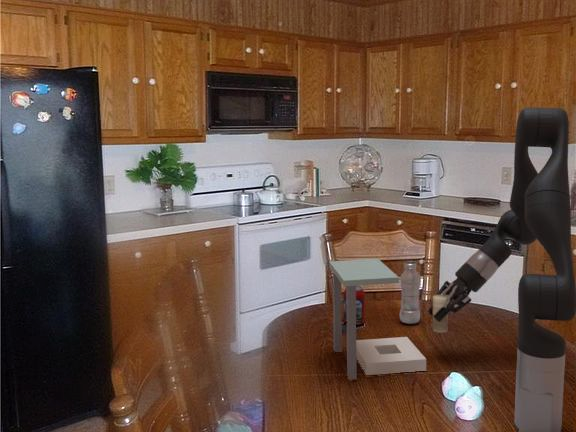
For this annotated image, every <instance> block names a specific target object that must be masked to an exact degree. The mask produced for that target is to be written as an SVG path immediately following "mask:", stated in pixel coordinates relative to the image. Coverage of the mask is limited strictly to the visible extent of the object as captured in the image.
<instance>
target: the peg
mask: <svg viewBox="0 0 576 432" xmlns="http://www.w3.org/2000/svg"><path fill="white" fill-rule="evenodd" d="M447 297H448V296H446V295H442V294H441V295H436V294H433V295H432V305H433V316H432V331H433V332H434V333H439V334H440V333H441V334H443V333H447V332H448V328H449V326H448V325H449V323H448V322H449V321H448V319H449V313H448V314H447V315H446V316H445V317H444V318H443V319H442V320H441V321H440V322H438V321H437V320H436V319H435V318H434V315H435V314H436V313H437V312H438V311H439V310H440V309H441V308H442V307H443V306H444V304H445V303H446V302H447Z"/></svg>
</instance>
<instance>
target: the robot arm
mask: <svg viewBox="0 0 576 432" xmlns="http://www.w3.org/2000/svg"><path fill="white" fill-rule="evenodd" d="M569 123H570V121H569V116H568V113H567V111H566V110H565V109H563V108H558V107H534V106H533V107H524V108H523V109H521V110H520V112H519V113H518V117H517V120H516V127H515V128H516V129H515V137H514V138H515V139H514V140H515V141H514V158H513V159H514V162H513V164H514V165H513V181H512V187H511V188H512V189H511V193H510V200H509V207H510V209H509V210H507V211H505V212H504V213H503V214H502V215H501V217H500V218H499V219H498V222H497V224H496V226H495V228H494V230H493V231H492V233H491V234H490V236H489V238H488V239H487V241H486V242H485V243H484V244H483V245H482V246H481V247H480V248H478V250H477V251H476V252H475V253H473V254H472V255H471V256H470V257H469V258H468V259H467V260H466V261H465V262H464V263H463V264H462V265H461V266H460V267H459V269H457V270H456V271H455V273H454V274H455V277H456V279H455V280H452V282H449V281H448V280H445V281H444V282H443V284H442V286H441V287H440V289H439V290H438V292H437V293H436V294H435V295H446V296H448V297H447V302H446V303H445V304H444V306H443V307H442V308H441V309H440V310H439V311H438V312H437V313H436V314H435V315H434V318H435V319H436V320H437V321H438V322H440V321H441V320H442V319H443V318H444V317H445V316H446V315H447V314H448V315H449V313H450V314H451V313H453V314H456V313H457V312H459V311H460V310H462V309H463V308H465V306H467V305H468V304H469V303H471V302H472V299H471V298H470V293H471V292H474V293H477V292H478V291H479V290H480V289H481V288H482V287H483V286H485V284H486V283H487V282H488V281H489V280H490V279H491V278H492V277H493V276H494V275H495V273H496V272H497V271H498V269H499V268H500V267H501V266H502V265H503V264H504V263H505V262H506V261H507V260H508V259H509V257H510V256H511V255H512V249H511V247H510V246H509V244H508V243H507V242H506V241H505V240H506V238H507V236H508V237H510V238H512V239H513V240H514V241H515V242H518V243H519V244H521V245H524V246H527V245H531V244H533V243H535V241H536V240H537V241H538V243H540V245H541V246H542V247H543V249H544V250H545V251H546V253H547V255H548V257H549V258H550V260H551V262H552V265H553V268H554V270H555V274H538V273H537V274H536V273H525V274H522V276H521V278H520V279H519V281H518V289H517V291H518V292H517V303H518V306H517V307H518V309H517V310H518V327H517V328H518V330H517V346H516V347H517V351H516V352H517V353H516V374H515V375H516V376H515V397H514V398H515V400H514V422H513V423H514V425H515V427H516V428H517V429H518V432H562V425H563V424H562V422H563V403H564V386H565V385H564V384H565V370H566V369H565V368H566V352H567V350H566V349H567V345H566V344H567V343H566V340H565V338H564V337H563V336H562V335H560V334H559V333H557V332H554V331H552V330H550V329H548V328H545V327H543V326H541V325H540V324H539V323H537V322H536V320H541V321H557V322H558V321H559V322H570V321H572V320H573V319H574V318H575V316H576V278H575V269H574V259H573V250H572V208H571V194H570V182H569V181H570V180H569V168H568V167H569V165H568V164H569V139H570V138H569V136H570V135H569V134H570V133H569V131H570V126H569V125H570V124H569ZM529 148H550V149H551V154H550V156H549V158H548V160H547V161H546V162H545V164H544V165H543V167H542V168H541V170H540V171H539V172H538V171H537V169H536V168H535V166H534V164H533V162H532V160H531V157H530V154H529ZM427 312H428V314H429V315H431V316H432V317H433V304H432V306H430V308H429V309H427Z"/></svg>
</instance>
